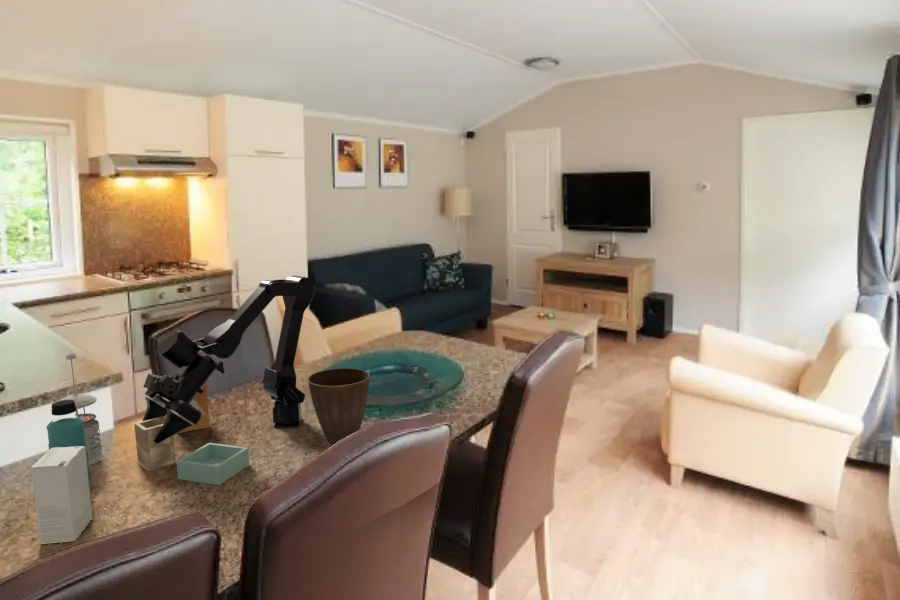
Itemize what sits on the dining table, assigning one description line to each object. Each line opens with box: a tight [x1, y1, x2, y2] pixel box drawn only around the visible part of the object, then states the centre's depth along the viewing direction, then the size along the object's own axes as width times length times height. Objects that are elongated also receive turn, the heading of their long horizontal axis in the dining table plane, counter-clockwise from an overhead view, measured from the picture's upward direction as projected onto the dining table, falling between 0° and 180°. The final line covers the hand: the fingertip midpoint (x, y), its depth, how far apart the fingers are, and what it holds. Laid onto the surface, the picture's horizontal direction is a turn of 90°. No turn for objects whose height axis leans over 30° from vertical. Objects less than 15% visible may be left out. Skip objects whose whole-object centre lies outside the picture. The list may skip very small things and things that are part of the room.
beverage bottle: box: [46, 399, 92, 488], centre depth 121 cm, size 6×7×20 cm
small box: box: [171, 381, 211, 434], centre depth 159 cm, size 8×6×13 cm
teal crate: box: [176, 442, 250, 486], centre depth 133 cm, size 10×10×4 cm
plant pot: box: [307, 367, 371, 444], centre depth 150 cm, size 15×15×16 cm
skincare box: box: [30, 446, 93, 544], centre depth 108 cm, size 8×6×15 cm
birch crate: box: [133, 417, 177, 472], centre depth 138 cm, size 6×6×10 cm
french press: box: [59, 353, 107, 465], centre depth 140 cm, size 10×12×25 cm
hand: (147, 437), depth 137 cm, fingers open, 9 cm apart
